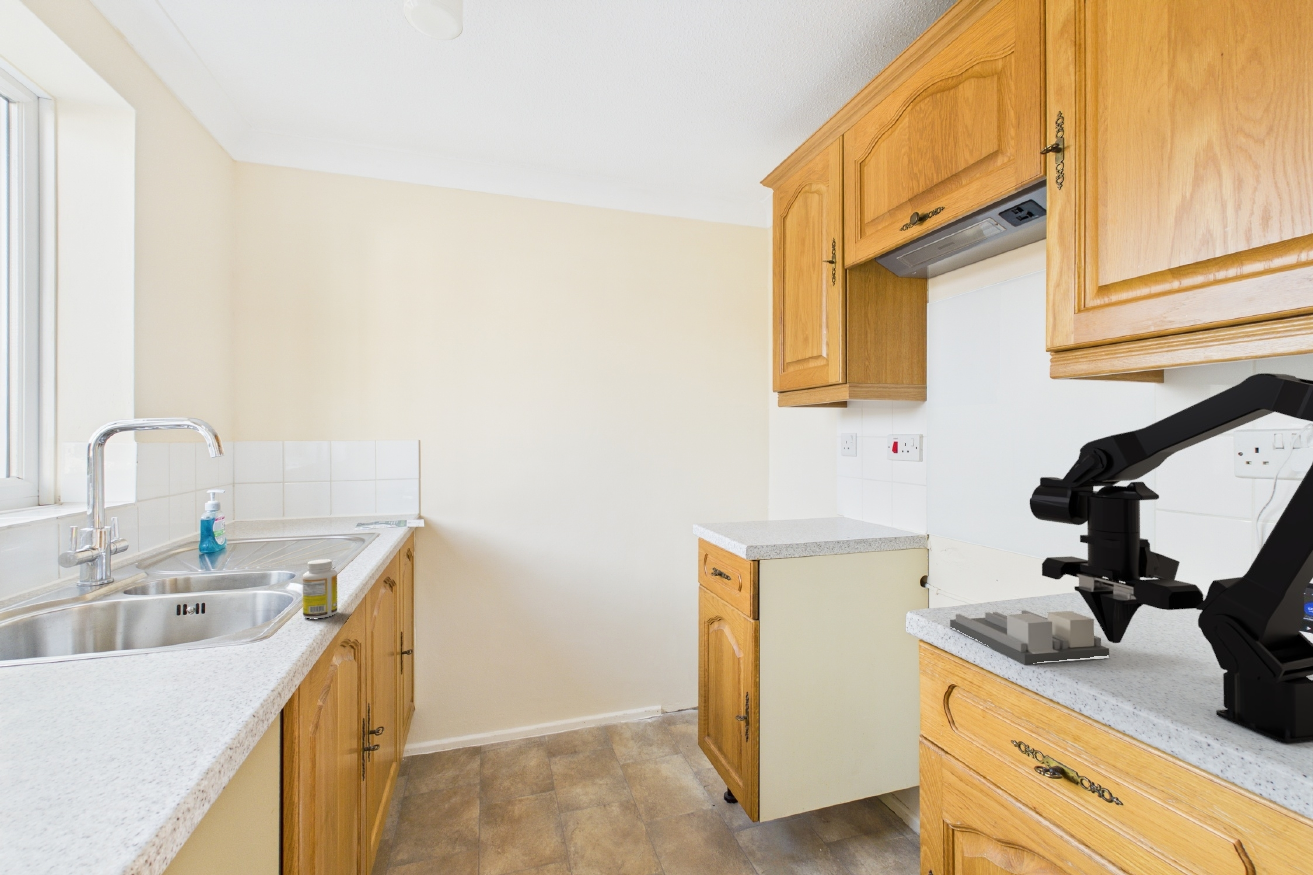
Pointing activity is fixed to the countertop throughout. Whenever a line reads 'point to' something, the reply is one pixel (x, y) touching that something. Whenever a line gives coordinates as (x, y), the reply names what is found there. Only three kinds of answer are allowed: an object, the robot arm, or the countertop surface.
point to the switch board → (996, 637)
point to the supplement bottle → (320, 589)
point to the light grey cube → (1030, 631)
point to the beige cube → (1073, 628)
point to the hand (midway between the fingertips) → (1114, 642)
